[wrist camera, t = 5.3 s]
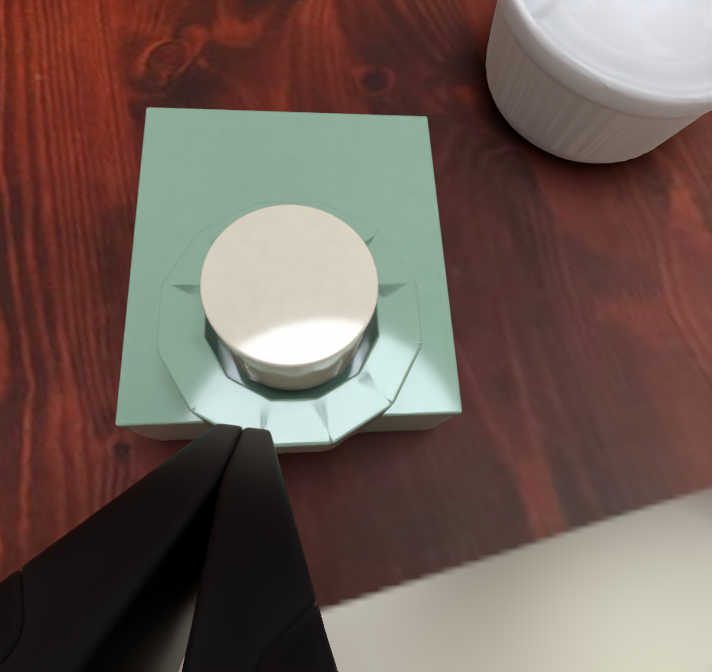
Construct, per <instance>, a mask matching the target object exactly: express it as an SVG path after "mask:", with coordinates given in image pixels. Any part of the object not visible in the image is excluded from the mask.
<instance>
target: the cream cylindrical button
mask: <svg viewBox="0 0 712 672" xmlns="http://www.w3.org/2000/svg"><path fill="white" fill-rule="evenodd" d="M200 295H201V301H202V306H203V309H204V312H205V315H206V317H207V319H208V321H209V323H210V325H211V327H212V328H213V330H214V332H215V334H216V336H217V337H218V339H219V341H220V343H221V345H222V346H223V348H224V350H225V352H226V354H227V355H228V357H229V358H230V360H231V361H232V363H233V364H234V365H235V366H236V367H237V368H238V369H239V370H240V371H241V372H242V373H243V374H245V375H246V376H247V377H249V378H250V379H252V380H253V381H255V382H257V383H259V384H262V385H264V386H267V387H270V388H274V389H279V390H292V391H295V390H305V389H309V388H314V387H317V386H319V385H322V384H324V383H326V382H328V381H330V380H332V379H334V378H335V377H336V376H338V375H339V374H341V373H342V372H343V371H344V370H345V369H346V368H347V367H348V366H349V365H350V363H351V362H352V361H353V360H354V358H355V357H356V355H357V353H358V352H359V349H360V347H361V345H362V342H363V340H364V337H365V335H366V332H367V329H368V327H369V324H370V321H371V319H372V316H373V314H374V311H375V307H376V304H377V298H378V275H377V269H376V266H375V263H374V260H373V257H372V255H371V253H370V251H369V249H368V248H367V246H366V244H365V243H364V241H363V240H362V239H361V238H360V236H359V235H358V234H357V233H356V232H355V231H354V230H353V229H352V228H351V227H350V226H349V225H347V224H346V223H345V222H343V221H342V220H340V219H339V218H337V217H335V216H333V215H332V214H329V213H327V212H325V211H322V210H319V209H316V208H313V207H308V206H302V205H276V206H269V207H265V208H262V209H258V210H256V211H253V212H251V213H248V214H246V215H244V216H243V217H241V218H239V219H237V220H236V221H235V222H233V223H232V224H231V225H229V226H228V227H227V228H226V229H225V230H224V231H223V232H222V233H221V234H220V235H219V236H218V238H217V239H216V240H215V241H214V243H213V244H212V246H211V248H210V249H209V251H208V253H207V256H206V258H205V260H204V263H203V267H202V270H201V277H200Z"/></svg>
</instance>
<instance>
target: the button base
mask: <svg viewBox="0 0 712 672" xmlns="http://www.w3.org/2000/svg"><path fill="white" fill-rule="evenodd" d="M276 205H302V206H308V207H313V208H316V209H319V210H322V211H325V212H327V213H329V214H332V215H333V216H335V217H337V218H339V219H340V220H342V221H343V222H345V223H346V224H347V225H349V226H350V227H351V228H352V229H353V230H354V231H355V232H356V233H357V234H358V235H359V236H360V238H361V239H362V240H363V241H364V243H365V244H366V246H367V248H368V249H369V251H370V253H371V255H372V257H373V260H374V263H375V266H376V269H377V275H378V298H377V304H376V307H375V311H374V314H373V316H372V319H371V321H370V324H369V327H368V329H367V332H366V335H365V337H364V340H363V342H362V345H361V347H360V349H359V352H358V353H357V355H356V357H355V358H354V360H353V361H352V362H351V363H350V365H349V366H348V367H347V368H346V369H345V370H344V371H343V372H342V373H341V374H339V375H338V376H336V377H335V378H334V379H332V380H330V381H328V382H326V383H324V384H322V385H319V386H317V387H314V388H309V389H305V390H295V391H292V390H279V389H274V388H270V387H267V386H264V385H262V384H259V383H257V382H255V381H253V380H252V379H250V378H249V377H247V376H246V375H245V374H243V373H242V372H241V371H240V370H239V369H238V368H237V367H236V366H235V365H234V364H233V363H232V361H231V360H230V358H229V357H228V355H227V354H226V352H225V350H224V348H223V346H222V345H221V343H220V341H219V339H218V337H217V336H216V334H215V332H214V330H213V328H212V327H211V325H210V323H209V321H208V319H207V317H206V315H205V312H204V309H203V306H202V301H201V295H200V277H201V270H202V267H203V263H204V260H205V258H206V256H207V253H208V251H209V249H210V248H211V246H212V244H213V243H214V241H215V240H216V239H217V238H218V236H219V235H220V234H221V233H222V232H223V231H224V230H225V229H226V228H227V227H228V226H229V225H231V224H232V223H233V222H235V221H236V220H237V219H239V218H241V217H243V216H244V215H246V214H248V213H251V212H253V211H256V210H258V209H262V208H265V207H269V206H276ZM460 413H462V407H461V398H460V390H459V381H458V373H457V365H456V356H455V348H454V339H453V331H452V322H451V314H450V305H449V297H448V289H447V280H446V272H445V263H444V255H443V246H442V238H441V230H440V221H439V213H438V204H437V196H436V187H435V179H434V170H433V162H432V154H431V145H430V137H429V128H428V120H427V117H426V116H396V115H366V114H335V113H304V112H274V111H243V110H213V109H182V108H151V107H148V108H147V109H146V118H145V128H144V139H143V149H142V159H141V169H140V179H139V189H138V200H137V210H136V220H135V230H134V240H133V250H132V261H131V271H130V281H129V291H128V301H127V311H126V322H125V332H124V342H123V352H122V362H121V372H120V383H119V393H118V403H117V413H116V423H115V424H116V426H119V427H122V428H124V429H127V430H130V431H133V432H135V433H138V434H141V435H143V436H146V437H149V438H151V439H154V440H157V441H162V440H186V439H196V438H198V437H199V436H200V435H202V434H203V433H204V432H206V431H207V430H209V429H210V428H211V427H213V426H214V425H216V424H218V423H222V424H230V425H237V426H241V427H242V428H243V430H244V429H245V428H247V427H252V428H259V429H266V430H269V431H270V433H271V435H272V439H273V442H274V446H275V450H276V453H296V452H319V451H327V450H331V449H333V448H334V447H336V446H337V445H339V444H340V443H342V442H344V441H345V440H347V439H348V438H350V437H351V436H353V435H354V434H356V433H358V432H383V431H407V430H429V429H431V428H433V427H435V426H437V425H439V424H441V423H443V422H445V421H446V420H448V419H450V418H452V417H454V416H456V415H458V414H460Z"/></svg>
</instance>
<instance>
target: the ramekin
mask: <svg viewBox="0 0 712 672" xmlns="http://www.w3.org/2000/svg"><path fill="white" fill-rule="evenodd" d="M486 71H487V81H488V86H489V89H490V91H491V94H492V97H493V99H494V101H495V103H496V105H497V107H498V109H499V111H500V112H501V114H502V115H503V117H504V118H505V119H506V120H507V122H508V123H509V124H510V125H511V126H512V127H513V128H514V129H515V130H516V131H517V132H518V133H519V134H520V135H521V136H523V137H524V138H525V139H526V140H528V141H529V142H531V143H532V144H534V145H535V146H537V147H539V148H540V149H542V150H544V151H546V152H548V153H551V154H553V155H555V156H558V157H561V158H564V159H567V160H572V161H577V162H583V163H614V162H621V161H626V160H628V159H633V158H636V157H639V156H641V155H642V154H644V153H647V152H649V151H651V150H652V149H654V148H656V147H657V146H658V145H660V144H661V143H663V142H664V141H666V140H667V139H669V138H670V137H672V136H673V135H674V134H676V133H677V132H679V131H680V130H682V129H683V128H685V127H686V126H687V125H689V124H690V123H692V122H693V121H694V120H696V119H697V118H699V117H700V116H701V115H703V114H704V113H707V112H709V111H712V0H498V1H497V5H496V9H495V13H494V18H493V22H492V27H491V32H490V37H489V42H488V47H487V54H486Z"/></svg>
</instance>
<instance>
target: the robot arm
mask: <svg viewBox="0 0 712 672" xmlns="http://www.w3.org/2000/svg"><path fill="white" fill-rule="evenodd" d="M316 604H317V600H316V596H315V593H314V589H313V585H312V582H311V578H310V574H309V571H308V567H307V563H306V560H305V556H304V552H303V549H302V545H301V541H300V538H299V534H298V530H297V527H296V523H295V519H294V516H293V512H292V508H291V505H290V501H289V497H288V494H287V490H286V486H285V483H284V479H283V475H282V472H281V468H280V464H279V461H278V457H277V453H276V450H275V446H274V442H273V439H272V435H271V433H270V431H269V430H266V429H259V428H252V427H247V428H245V429H244V430H243V428H242V427H241V426H237V425H230V424H222V423H218V424H216V425H214V426H213V427H211V428H210V429H209V430H207V431H206V432H204V433H203V434H202V435H200V436H199V437H198V438H196V439H195V440H194V441H192V442H191V443H190V444H188V445H187V446H185V447H184V448H183V449H181V450H180V451H179V452H177V453H176V454H175V455H173V456H172V457H170V458H169V459H168V460H166V461H165V462H164V463H162V464H161V465H160V466H158V467H157V468H156V469H154V470H153V471H151V472H150V473H149V474H147V475H146V476H145V477H143V478H142V479H141V480H139V481H138V482H136V483H135V484H134V485H132V486H131V487H130V488H128V489H127V490H126V491H124V492H123V493H122V494H120V495H119V496H117V497H116V498H115V499H113V500H112V501H111V502H109V503H108V504H107V505H105V506H104V507H103V508H101V509H100V510H98V511H97V512H96V513H94V514H93V515H92V516H90V517H89V518H88V519H86V520H85V521H83V522H82V523H81V524H79V525H78V526H77V527H75V528H74V529H73V530H71V531H70V532H69V533H67V534H66V535H64V536H63V537H62V538H60V539H59V540H58V541H56V542H55V543H54V544H52V545H51V546H49V547H48V548H47V549H45V550H44V551H43V552H41V553H40V554H39V555H37V556H36V557H35V558H33V559H32V560H30V561H29V562H28V563H26V564H25V565H24V566H23V567H22V572H21V571H15V572H14V573H12V574H11V575H10V576H8V577H7V578H6V579H4V580H3V581H1V582H0V672H178V671H179V668H180V665H181V663H182V660H183V657H184V655H185V659H184V664H183V669H182V672H338V670H337V667H336V664H335V661H334V657H333V654H332V651H331V648H330V645H329V641H328V638H327V635H326V632H325V628H324V624H323V621H322V617H321V613H320V610H319V607H318V606H317V605H316ZM185 652H186V654H185Z"/></svg>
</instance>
